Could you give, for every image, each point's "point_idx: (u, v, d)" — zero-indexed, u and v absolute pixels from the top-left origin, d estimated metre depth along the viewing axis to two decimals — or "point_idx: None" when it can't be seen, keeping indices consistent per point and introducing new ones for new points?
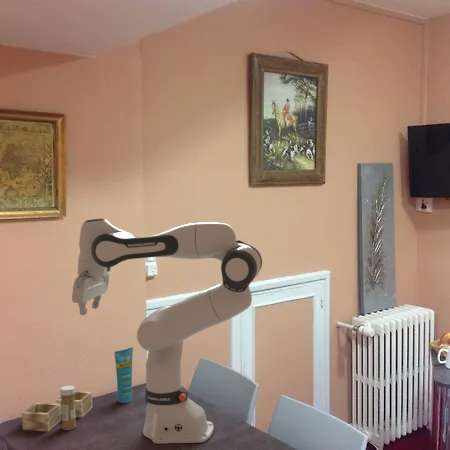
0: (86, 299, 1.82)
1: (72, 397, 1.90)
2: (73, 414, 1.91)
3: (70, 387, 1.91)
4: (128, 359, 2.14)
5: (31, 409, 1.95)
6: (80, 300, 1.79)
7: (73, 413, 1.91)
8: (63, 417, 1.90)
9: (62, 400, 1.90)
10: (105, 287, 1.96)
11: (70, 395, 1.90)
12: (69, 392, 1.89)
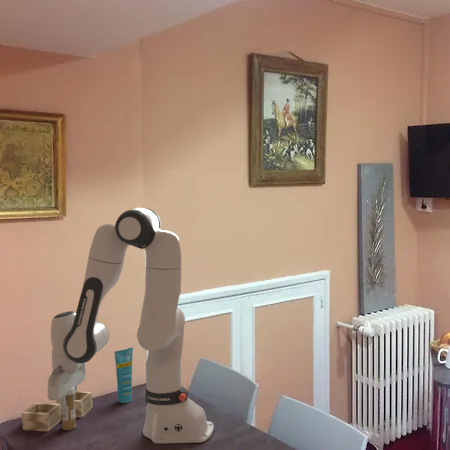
0: (62, 395, 1.84)
1: (72, 397, 1.90)
2: (73, 414, 1.91)
3: None
4: (128, 359, 2.14)
5: (31, 409, 1.95)
6: (56, 397, 1.81)
7: (73, 413, 1.91)
8: (63, 417, 1.90)
9: None
10: (82, 376, 1.98)
11: (70, 395, 1.90)
12: (69, 392, 1.89)
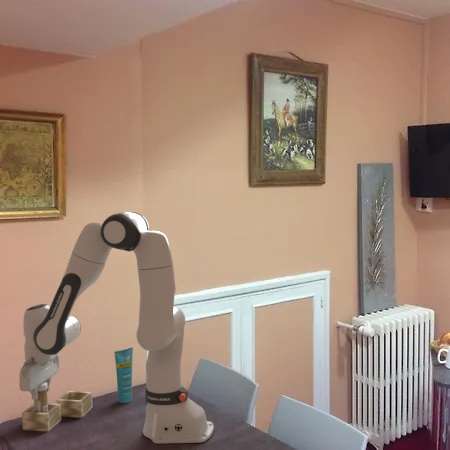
0: (34, 386, 1.86)
1: (44, 393, 1.93)
2: (45, 410, 1.93)
3: (43, 383, 1.94)
4: (128, 359, 2.14)
5: (31, 409, 1.95)
6: (27, 388, 1.84)
7: (45, 409, 1.93)
8: (36, 412, 1.93)
9: None
10: (56, 368, 2.01)
11: (42, 391, 1.92)
12: (41, 388, 1.92)
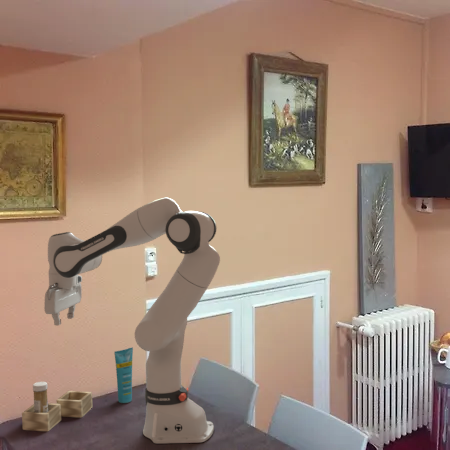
0: (58, 310, 1.90)
1: (44, 393, 1.93)
2: (45, 410, 1.93)
3: (43, 383, 1.94)
4: (128, 359, 2.14)
5: (31, 409, 1.95)
6: (52, 311, 1.88)
7: (45, 409, 1.93)
8: (36, 412, 1.93)
9: (35, 396, 1.92)
10: (78, 297, 2.05)
11: (42, 391, 1.92)
12: (41, 388, 1.92)
